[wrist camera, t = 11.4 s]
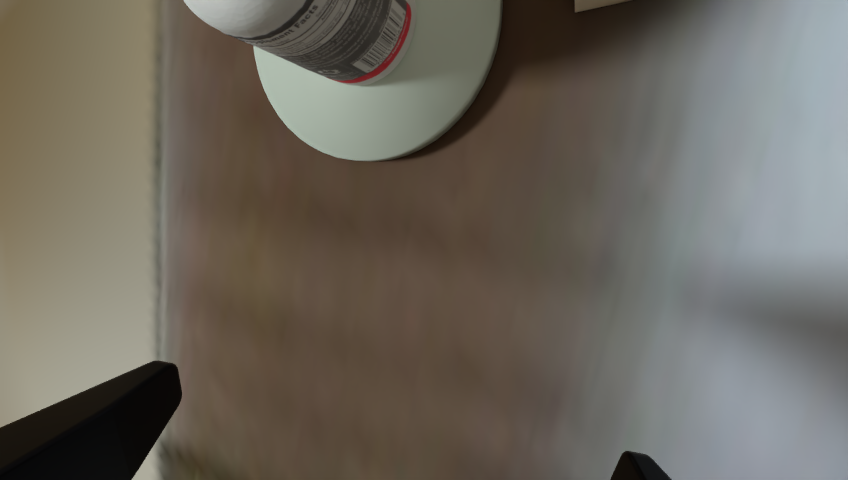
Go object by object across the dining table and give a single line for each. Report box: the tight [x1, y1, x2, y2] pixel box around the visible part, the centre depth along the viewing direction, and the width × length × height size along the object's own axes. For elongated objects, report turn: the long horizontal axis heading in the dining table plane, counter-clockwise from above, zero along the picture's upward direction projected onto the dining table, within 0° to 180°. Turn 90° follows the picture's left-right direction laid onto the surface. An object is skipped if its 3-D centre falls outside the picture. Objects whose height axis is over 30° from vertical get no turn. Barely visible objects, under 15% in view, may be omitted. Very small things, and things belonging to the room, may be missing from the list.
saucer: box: [254, 0, 503, 162], centre depth 18 cm, size 12×12×1 cm
